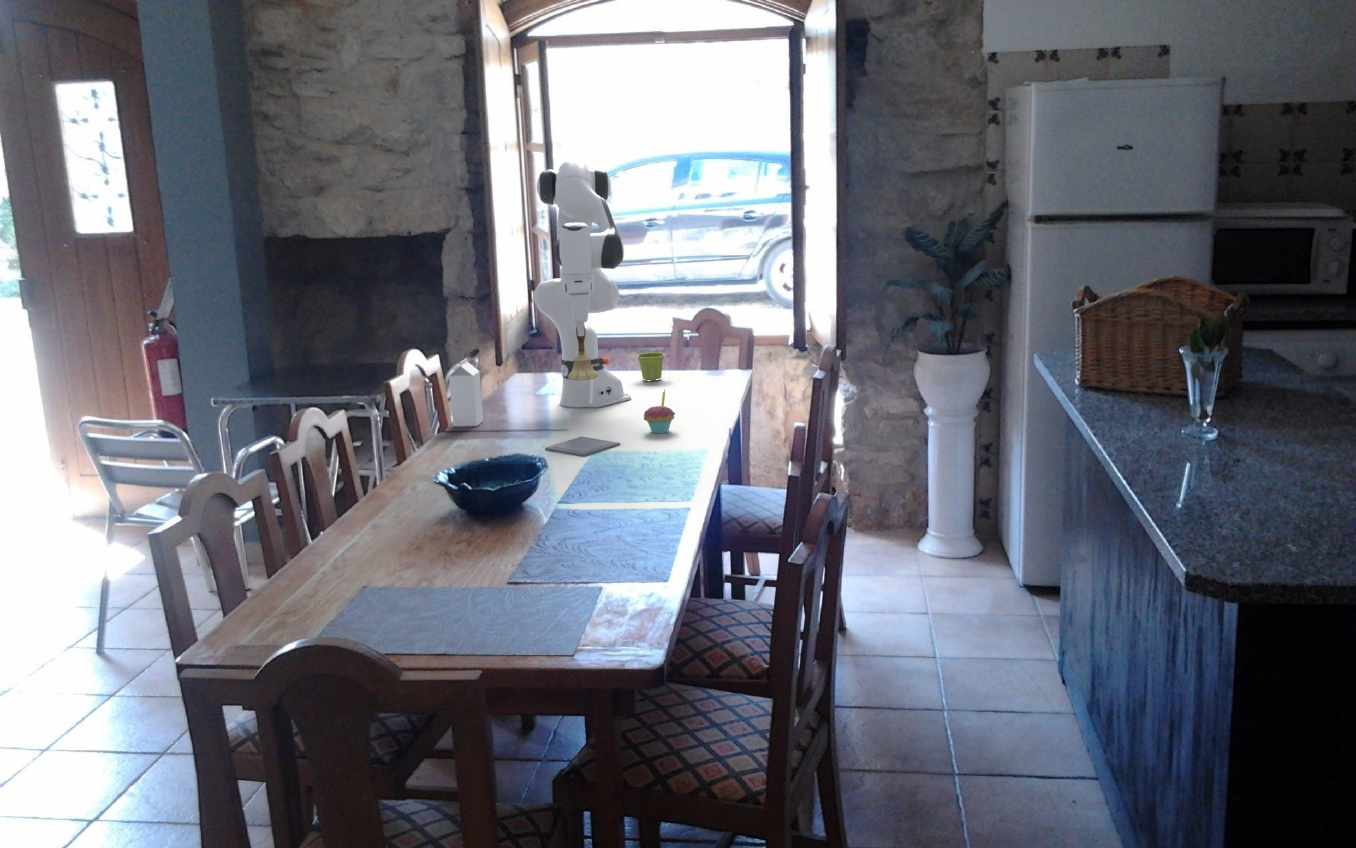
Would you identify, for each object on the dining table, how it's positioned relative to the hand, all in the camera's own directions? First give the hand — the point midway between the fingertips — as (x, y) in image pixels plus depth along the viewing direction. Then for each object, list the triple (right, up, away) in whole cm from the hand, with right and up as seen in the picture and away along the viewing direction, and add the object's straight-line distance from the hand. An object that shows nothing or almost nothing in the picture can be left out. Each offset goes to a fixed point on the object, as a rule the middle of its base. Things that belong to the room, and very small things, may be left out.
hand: (580, 334), depth 316 cm
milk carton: (-35, -24, +24) cm, 49 cm away
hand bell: (0, -11, +4) cm, 12 cm away
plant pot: (+18, -9, +80) cm, 82 cm away
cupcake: (+21, -26, +6) cm, 34 cm away
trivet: (+1, -30, -8) cm, 31 cm away
